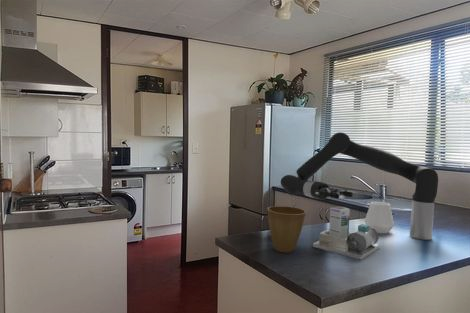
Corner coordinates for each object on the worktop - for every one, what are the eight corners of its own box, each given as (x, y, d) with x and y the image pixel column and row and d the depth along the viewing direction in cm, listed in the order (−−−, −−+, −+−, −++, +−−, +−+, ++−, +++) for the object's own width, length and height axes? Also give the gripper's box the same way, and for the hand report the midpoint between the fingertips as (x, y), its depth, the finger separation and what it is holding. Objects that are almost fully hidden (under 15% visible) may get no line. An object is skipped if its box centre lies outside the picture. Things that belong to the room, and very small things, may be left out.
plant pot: (274, 257, 128) (276, 214, 127) (260, 244, 142) (262, 206, 141) (310, 255, 132) (312, 213, 131) (293, 243, 146) (295, 205, 145)
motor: (334, 237, 157) (335, 214, 157) (380, 248, 144) (381, 223, 144) (312, 246, 142) (314, 221, 142) (361, 259, 129) (363, 231, 128)
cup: (362, 231, 170) (364, 203, 169) (366, 226, 182) (367, 199, 181) (392, 236, 164) (394, 207, 163) (394, 230, 176) (396, 202, 175)
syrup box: (339, 244, 141) (341, 209, 141) (328, 240, 146) (330, 206, 146) (348, 242, 145) (350, 208, 144) (336, 239, 150) (339, 205, 149)
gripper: (304, 182, 152) (334, 187, 139) (326, 180, 160) (356, 185, 147) (304, 199, 152) (333, 205, 139) (326, 197, 160) (355, 203, 147)
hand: (345, 195), depth 143 cm, fingers open, 8 cm apart
